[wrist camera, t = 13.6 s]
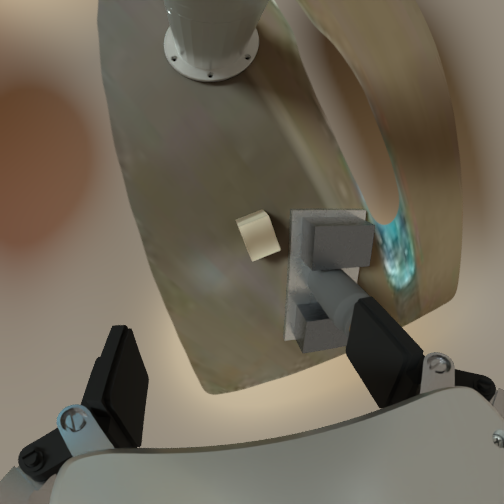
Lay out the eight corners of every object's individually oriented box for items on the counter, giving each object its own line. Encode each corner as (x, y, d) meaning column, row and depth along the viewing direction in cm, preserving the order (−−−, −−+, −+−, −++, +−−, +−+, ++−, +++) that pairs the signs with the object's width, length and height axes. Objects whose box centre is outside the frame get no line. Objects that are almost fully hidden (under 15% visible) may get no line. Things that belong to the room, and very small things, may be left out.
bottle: (336, 255, 42) (389, 302, 28) (344, 285, 44) (393, 338, 30) (302, 271, 42) (344, 326, 28) (312, 301, 44) (352, 360, 30)
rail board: (290, 209, 39) (304, 218, 34) (363, 208, 41) (384, 218, 36) (283, 337, 47) (292, 359, 41) (345, 328, 49) (359, 347, 43)
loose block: (235, 219, 39) (238, 227, 35) (262, 209, 39) (268, 215, 35) (247, 251, 41) (252, 261, 37) (273, 241, 41) (280, 250, 37)
